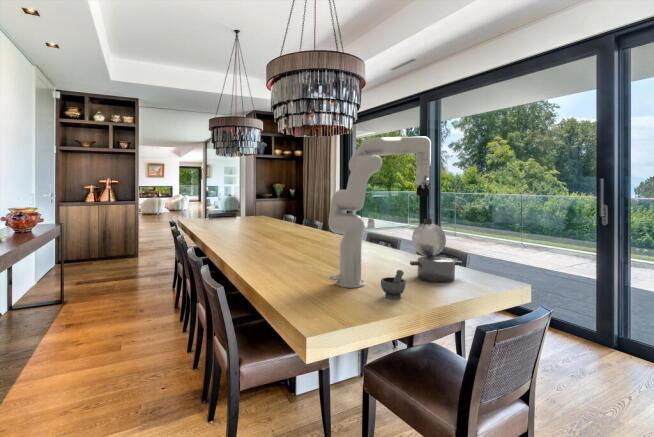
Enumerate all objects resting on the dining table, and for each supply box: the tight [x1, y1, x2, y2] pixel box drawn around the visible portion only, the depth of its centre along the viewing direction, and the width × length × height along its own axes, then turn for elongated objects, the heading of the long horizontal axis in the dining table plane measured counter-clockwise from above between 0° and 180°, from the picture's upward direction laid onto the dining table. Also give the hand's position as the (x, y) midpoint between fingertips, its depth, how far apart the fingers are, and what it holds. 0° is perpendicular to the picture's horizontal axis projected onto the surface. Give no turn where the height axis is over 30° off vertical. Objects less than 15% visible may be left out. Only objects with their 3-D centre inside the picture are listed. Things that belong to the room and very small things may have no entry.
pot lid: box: [411, 218, 447, 257], centre depth 181 cm, size 17×19×3 cm
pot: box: [409, 255, 464, 284], centre depth 171 cm, size 25×18×9 cm
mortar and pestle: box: [380, 269, 407, 301], centre depth 140 cm, size 11×9×12 cm
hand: (422, 195), depth 189 cm, fingers open, 9 cm apart
